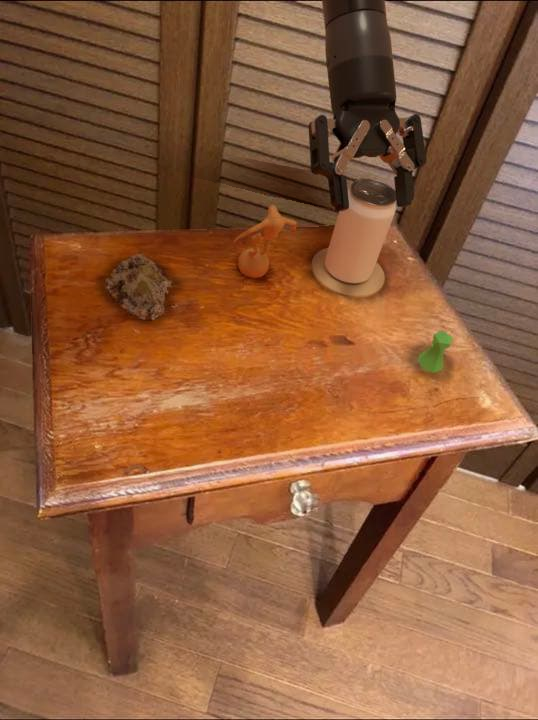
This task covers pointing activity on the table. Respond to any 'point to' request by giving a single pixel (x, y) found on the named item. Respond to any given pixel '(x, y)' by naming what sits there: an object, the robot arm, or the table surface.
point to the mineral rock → (140, 287)
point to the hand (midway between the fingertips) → (374, 208)
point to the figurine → (255, 259)
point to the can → (361, 231)
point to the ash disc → (343, 288)
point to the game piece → (435, 352)
